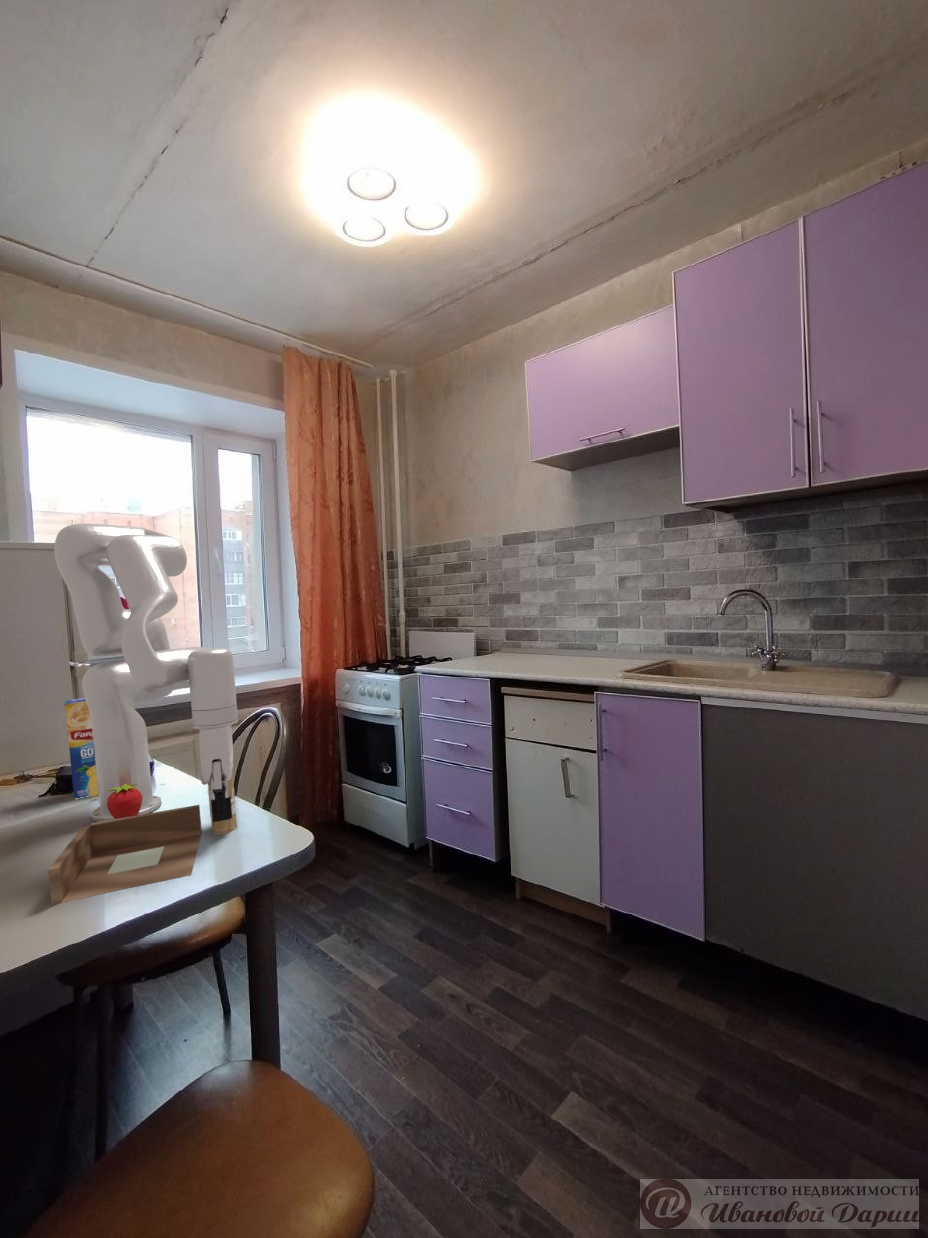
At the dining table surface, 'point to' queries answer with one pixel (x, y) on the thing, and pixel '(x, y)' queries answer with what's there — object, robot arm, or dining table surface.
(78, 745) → the beverage box
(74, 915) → the dining table surface
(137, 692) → the robot arm
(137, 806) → the strawberry
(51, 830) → the dining table surface
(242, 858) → the dining table surface
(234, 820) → the sprinkles bottle
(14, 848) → the dining table surface
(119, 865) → the sage pad
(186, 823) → the tray
